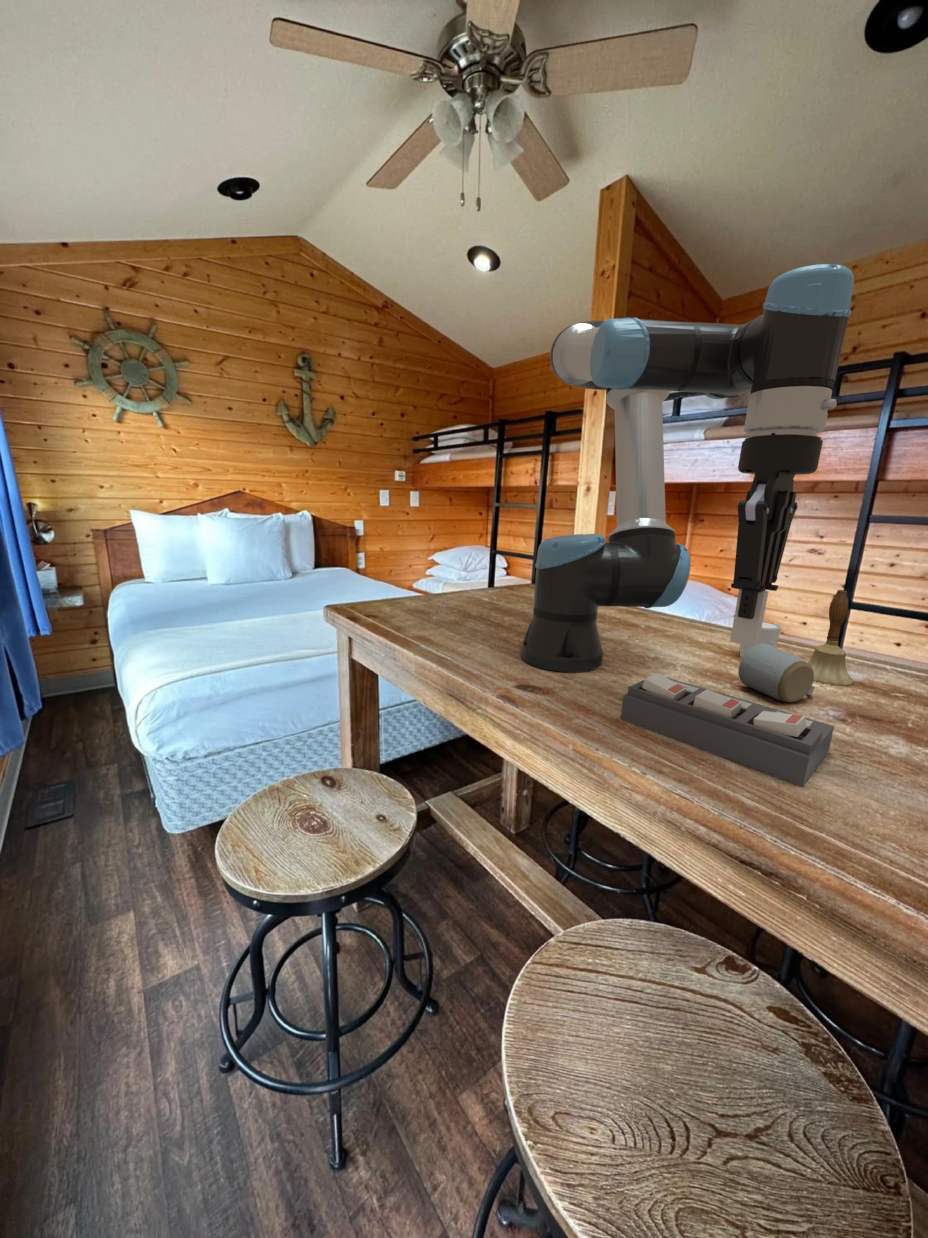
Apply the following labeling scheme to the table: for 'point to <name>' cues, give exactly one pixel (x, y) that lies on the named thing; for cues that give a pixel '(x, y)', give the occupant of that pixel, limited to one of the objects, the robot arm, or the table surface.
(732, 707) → the middle rocker
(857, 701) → the table surface
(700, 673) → the table surface
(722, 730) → the rocker switch box
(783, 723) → the rocker
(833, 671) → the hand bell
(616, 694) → the table surface
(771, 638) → the white cylinder
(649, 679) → the rocker
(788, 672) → the ceramic mug
